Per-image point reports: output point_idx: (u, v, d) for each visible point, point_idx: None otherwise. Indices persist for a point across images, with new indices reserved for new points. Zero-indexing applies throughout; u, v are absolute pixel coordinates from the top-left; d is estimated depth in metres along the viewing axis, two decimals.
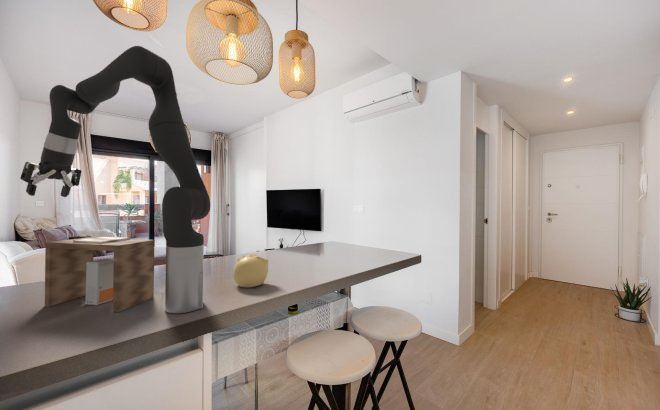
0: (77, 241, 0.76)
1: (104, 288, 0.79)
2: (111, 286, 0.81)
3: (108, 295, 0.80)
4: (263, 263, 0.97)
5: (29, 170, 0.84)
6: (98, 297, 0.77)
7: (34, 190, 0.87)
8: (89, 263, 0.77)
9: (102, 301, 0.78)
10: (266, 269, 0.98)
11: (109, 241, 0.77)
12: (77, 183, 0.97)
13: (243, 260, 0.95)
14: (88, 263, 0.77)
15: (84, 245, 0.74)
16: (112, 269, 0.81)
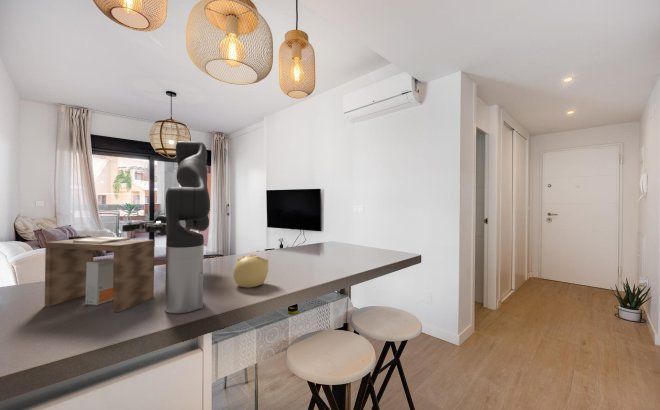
0: (77, 241, 0.76)
1: (104, 288, 0.79)
2: (111, 286, 0.81)
3: (108, 296, 0.80)
4: (263, 263, 0.97)
5: None
6: (98, 297, 0.77)
7: (128, 224, 0.93)
8: (89, 263, 0.77)
9: (102, 301, 0.78)
10: (266, 269, 0.98)
11: (109, 241, 0.77)
12: (164, 224, 0.95)
13: (243, 260, 0.95)
14: (88, 263, 0.77)
15: (84, 245, 0.74)
16: (112, 269, 0.81)
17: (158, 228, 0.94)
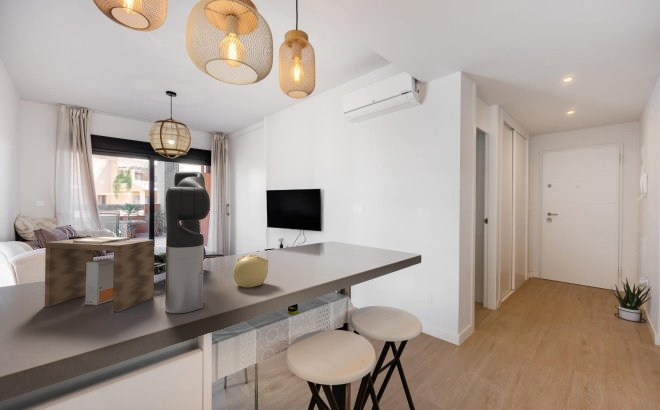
0: (77, 241, 0.76)
1: (104, 288, 0.79)
2: (111, 286, 0.81)
3: (108, 296, 0.80)
4: (263, 263, 0.97)
5: None
6: (98, 297, 0.77)
7: None
8: (89, 263, 0.77)
9: (102, 301, 0.78)
10: (266, 269, 0.98)
11: (109, 241, 0.77)
12: (157, 265, 0.92)
13: (243, 260, 0.95)
14: (88, 263, 0.77)
15: (84, 245, 0.74)
16: (112, 269, 0.81)
17: None
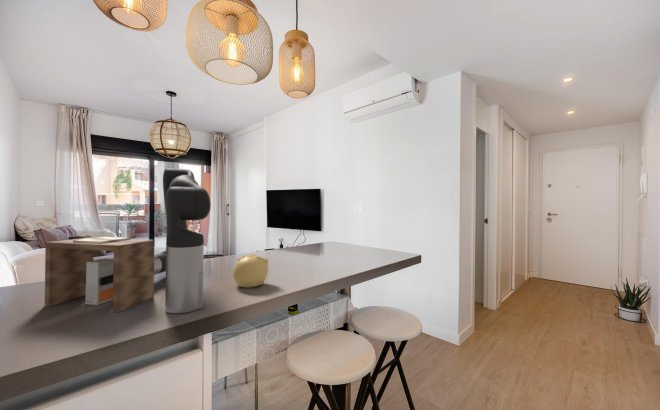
0: (77, 241, 0.76)
1: (104, 288, 0.79)
2: (111, 286, 0.81)
3: (108, 295, 0.80)
4: (263, 263, 0.97)
5: None
6: (98, 297, 0.77)
7: None
8: (89, 263, 0.77)
9: (102, 301, 0.78)
10: (266, 269, 0.98)
11: (109, 241, 0.77)
12: None
13: (243, 260, 0.95)
14: (88, 263, 0.77)
15: (84, 245, 0.74)
16: (112, 269, 0.81)
17: None
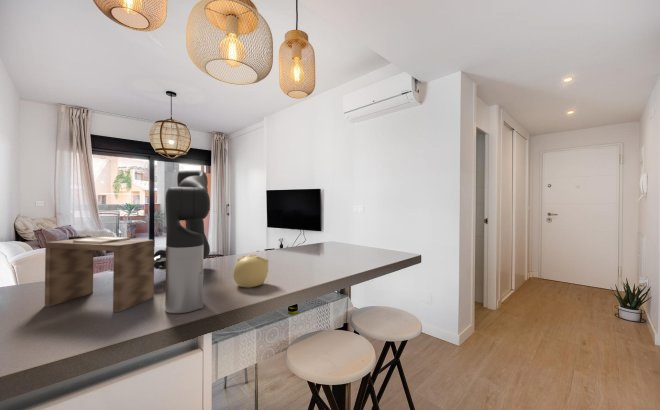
0: (77, 241, 0.76)
1: None
2: None
3: None
4: (263, 263, 0.97)
5: None
6: None
7: None
8: None
9: None
10: (266, 269, 0.98)
11: (109, 241, 0.77)
12: (158, 261, 0.95)
13: (243, 260, 0.95)
14: None
15: (84, 245, 0.74)
16: None
17: None
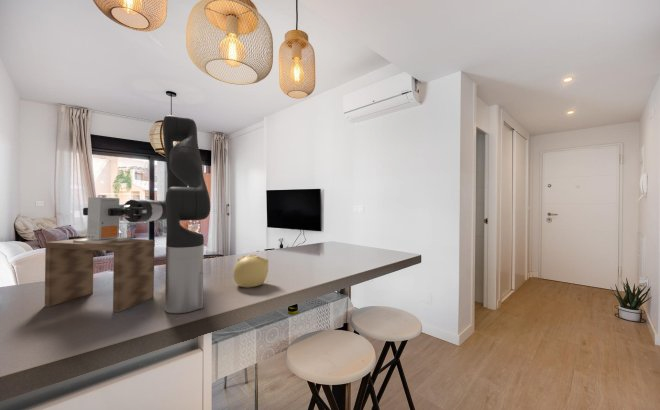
0: (77, 241, 0.76)
1: (106, 224, 0.79)
2: (113, 224, 0.81)
3: (110, 233, 0.80)
4: (263, 263, 0.97)
5: None
6: (100, 232, 0.77)
7: None
8: (91, 198, 0.77)
9: (104, 237, 0.78)
10: (266, 269, 0.98)
11: (109, 241, 0.77)
12: (132, 207, 0.82)
13: (243, 260, 0.95)
14: (90, 198, 0.77)
15: (84, 245, 0.74)
16: (114, 207, 0.81)
17: (124, 212, 0.81)
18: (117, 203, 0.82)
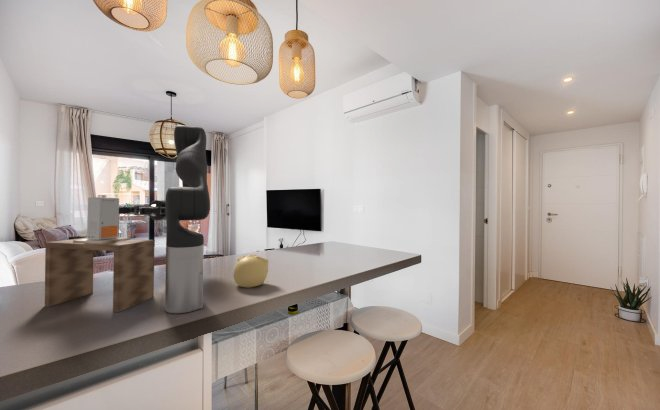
0: (77, 241, 0.76)
1: (105, 224, 0.79)
2: (113, 224, 0.81)
3: (110, 233, 0.80)
4: (263, 263, 0.97)
5: None
6: (100, 232, 0.77)
7: (122, 207, 0.91)
8: (91, 198, 0.77)
9: (104, 237, 0.78)
10: (266, 269, 0.98)
11: (109, 241, 0.77)
12: (159, 207, 0.93)
13: (243, 260, 0.95)
14: (90, 198, 0.77)
15: (84, 245, 0.74)
16: (113, 207, 0.81)
17: (153, 211, 0.91)
18: (117, 203, 0.82)
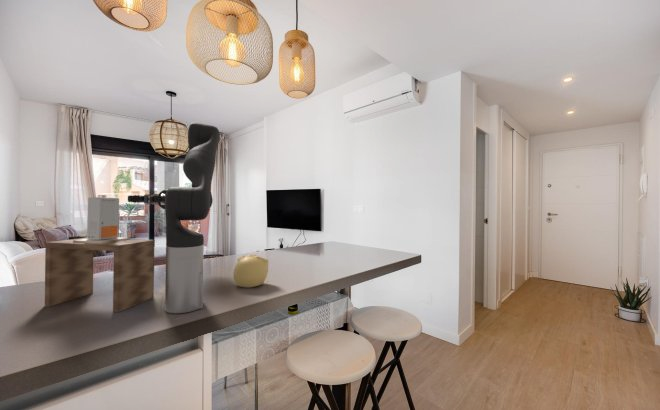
0: (77, 241, 0.76)
1: (105, 224, 0.79)
2: (113, 224, 0.81)
3: (110, 233, 0.80)
4: (263, 263, 0.97)
5: None
6: (100, 232, 0.77)
7: None
8: (91, 198, 0.77)
9: (104, 237, 0.78)
10: (266, 269, 0.98)
11: (109, 241, 0.77)
12: None
13: (243, 260, 0.95)
14: (90, 198, 0.77)
15: (84, 245, 0.74)
16: (113, 207, 0.81)
17: (163, 199, 0.95)
18: (117, 203, 0.82)
